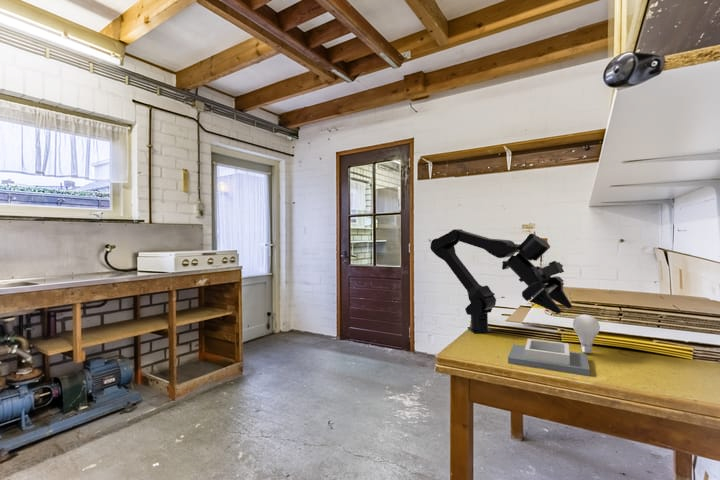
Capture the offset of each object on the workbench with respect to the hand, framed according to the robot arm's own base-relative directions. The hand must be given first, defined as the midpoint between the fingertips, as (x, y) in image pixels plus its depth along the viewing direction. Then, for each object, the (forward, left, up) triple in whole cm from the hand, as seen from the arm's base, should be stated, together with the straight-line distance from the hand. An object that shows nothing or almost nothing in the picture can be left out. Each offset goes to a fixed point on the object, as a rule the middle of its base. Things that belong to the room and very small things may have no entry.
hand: (565, 310), depth 98 cm
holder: (+8, -11, -12) cm, 18 cm away
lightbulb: (+4, +3, -12) cm, 13 cm away
